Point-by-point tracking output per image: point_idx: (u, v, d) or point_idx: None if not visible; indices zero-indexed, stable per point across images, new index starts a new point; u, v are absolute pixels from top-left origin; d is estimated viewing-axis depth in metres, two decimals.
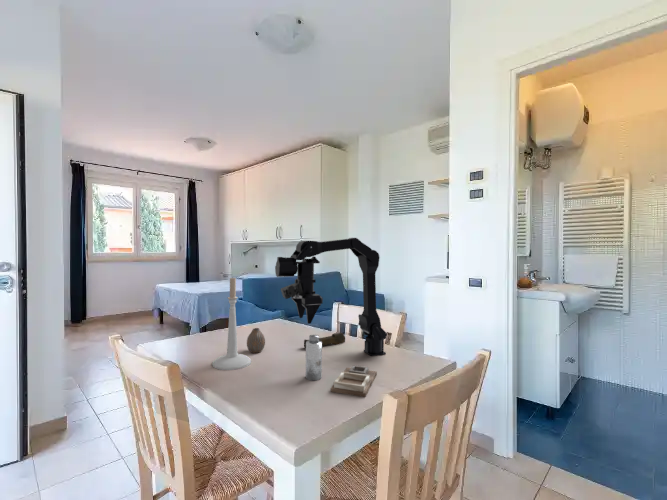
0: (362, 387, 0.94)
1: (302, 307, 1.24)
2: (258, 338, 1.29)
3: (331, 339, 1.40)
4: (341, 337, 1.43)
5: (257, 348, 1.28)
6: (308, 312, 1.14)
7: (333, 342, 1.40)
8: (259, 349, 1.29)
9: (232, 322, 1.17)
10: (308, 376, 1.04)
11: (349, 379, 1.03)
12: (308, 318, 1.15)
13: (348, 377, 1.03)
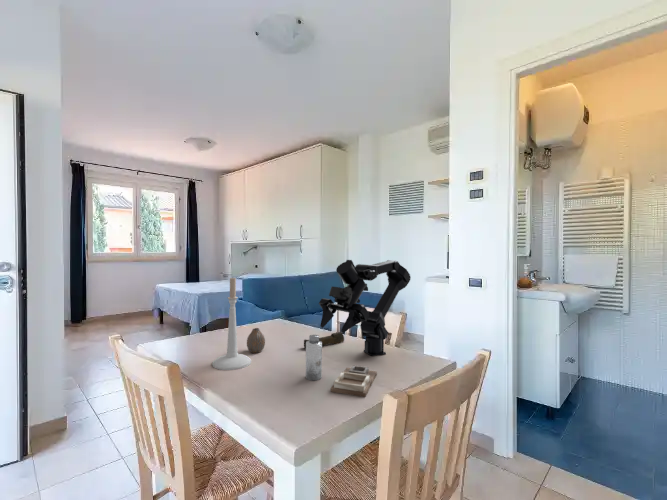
0: (362, 387, 0.94)
1: (327, 319, 1.18)
2: (258, 338, 1.29)
3: (330, 339, 1.40)
4: (340, 337, 1.43)
5: (257, 348, 1.28)
6: (350, 320, 1.10)
7: (332, 342, 1.41)
8: (259, 349, 1.29)
9: (232, 322, 1.17)
10: (308, 376, 1.04)
11: (349, 379, 1.03)
12: (345, 326, 1.09)
13: (348, 377, 1.03)
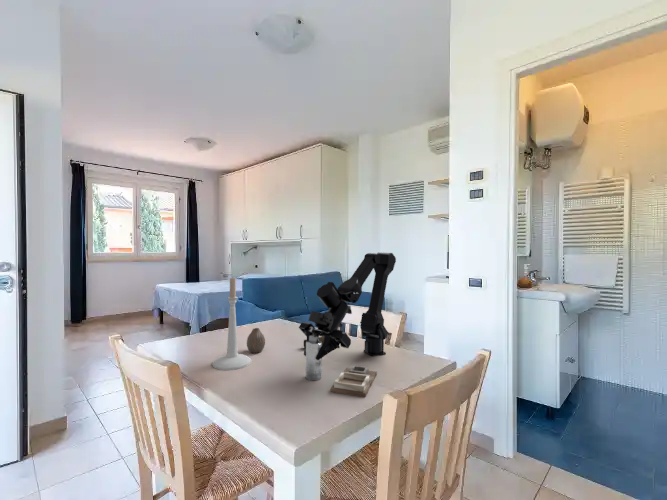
0: (362, 387, 0.94)
1: None
2: (258, 338, 1.29)
3: None
4: None
5: (257, 348, 1.28)
6: (325, 347, 1.04)
7: None
8: (259, 349, 1.29)
9: (232, 322, 1.17)
10: (308, 376, 1.04)
11: (349, 379, 1.03)
12: (320, 353, 1.04)
13: (348, 377, 1.03)
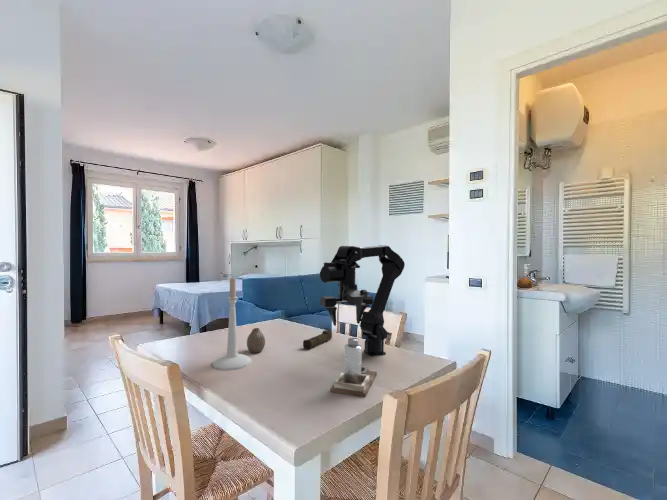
0: (362, 387, 0.94)
1: None
2: (258, 338, 1.29)
3: (324, 336, 1.44)
4: (330, 333, 1.48)
5: (257, 348, 1.28)
6: None
7: (326, 339, 1.44)
8: (259, 349, 1.29)
9: (232, 322, 1.17)
10: None
11: None
12: None
13: None
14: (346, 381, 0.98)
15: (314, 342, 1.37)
